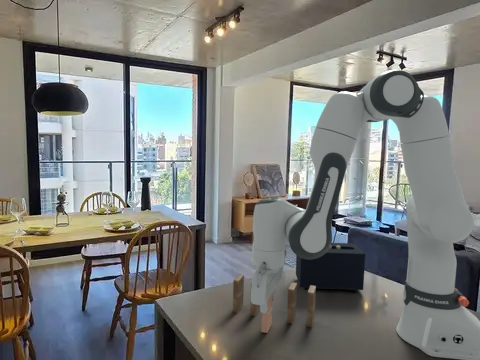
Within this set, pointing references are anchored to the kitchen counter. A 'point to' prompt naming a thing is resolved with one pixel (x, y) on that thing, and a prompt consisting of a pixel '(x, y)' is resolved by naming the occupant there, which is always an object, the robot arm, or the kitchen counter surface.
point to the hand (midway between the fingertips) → (267, 306)
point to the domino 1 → (238, 293)
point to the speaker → (333, 269)
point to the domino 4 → (291, 302)
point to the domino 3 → (267, 316)
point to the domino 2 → (254, 308)
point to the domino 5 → (311, 306)
